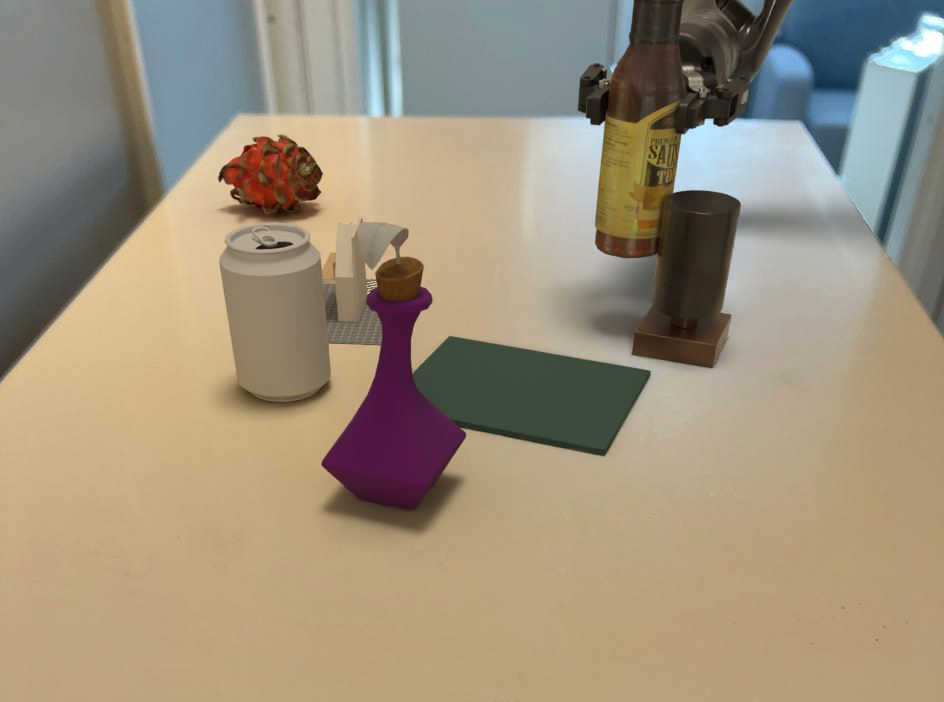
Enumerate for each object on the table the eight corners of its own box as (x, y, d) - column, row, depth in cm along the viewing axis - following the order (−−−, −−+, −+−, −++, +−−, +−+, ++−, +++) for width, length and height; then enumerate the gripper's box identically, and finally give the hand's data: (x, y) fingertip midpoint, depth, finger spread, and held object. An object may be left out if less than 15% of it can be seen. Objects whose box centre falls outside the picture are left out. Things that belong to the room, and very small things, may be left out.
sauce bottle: (647, 267, 82) (682, -16, 69) (580, 253, 85) (601, -23, 72) (677, 244, 87) (716, -28, 74) (612, 230, 89) (639, -34, 76)
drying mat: (650, 375, 82) (651, 370, 82) (604, 455, 72) (605, 449, 72) (449, 340, 87) (449, 335, 87) (380, 410, 77) (380, 405, 77)
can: (262, 415, 76) (240, 258, 68) (224, 378, 81) (199, 228, 73) (348, 391, 79) (336, 238, 72) (306, 357, 84) (291, 210, 76)
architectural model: (321, 320, 90) (313, 237, 85) (333, 291, 95) (327, 211, 90) (358, 321, 90) (353, 238, 85) (368, 292, 95) (364, 212, 90)
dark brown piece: (727, 335, 88) (754, 194, 80) (712, 367, 83) (739, 220, 75) (650, 323, 90) (669, 183, 82) (631, 354, 85) (649, 208, 77)
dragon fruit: (333, 229, 113) (234, 240, 115) (335, 165, 115) (238, 177, 117) (309, 178, 105) (203, 192, 107) (312, 111, 107) (208, 125, 109)
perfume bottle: (371, 454, 72) (355, 194, 60) (467, 474, 70) (470, 209, 58) (323, 506, 67) (295, 232, 55) (425, 530, 65) (419, 250, 53)
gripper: (610, 16, 88) (552, 52, 76) (774, 28, 84) (739, 68, 72) (602, 109, 93) (546, 157, 81) (756, 124, 89) (722, 177, 77)
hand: (638, 115), depth 77 cm, fingers closed on sauce bottle, 6 cm apart
